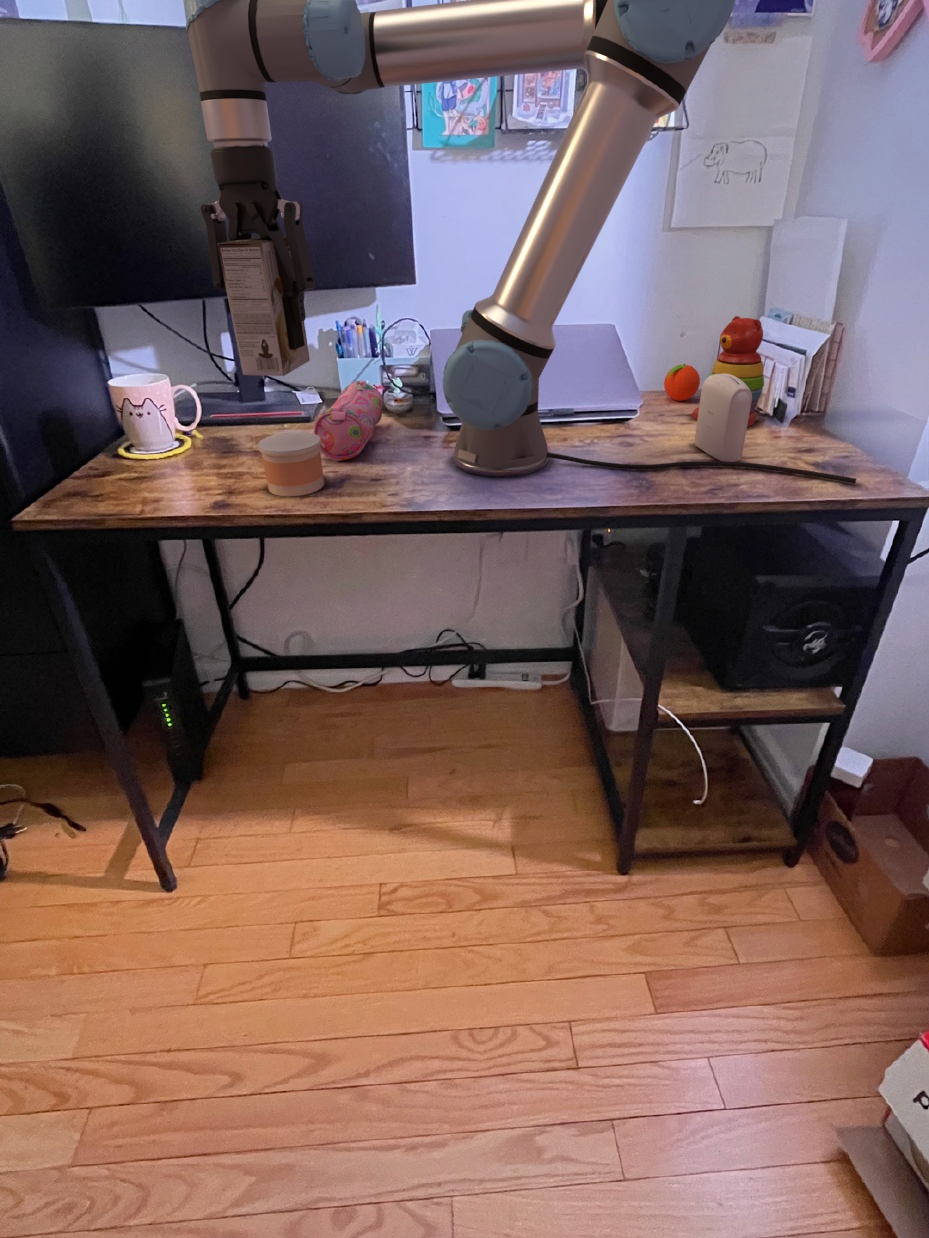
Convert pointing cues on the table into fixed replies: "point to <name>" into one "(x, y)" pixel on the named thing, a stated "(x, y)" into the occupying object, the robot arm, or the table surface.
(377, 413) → the pencil case
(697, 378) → the clementine
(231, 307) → the coffee box
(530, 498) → the table surface
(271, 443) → the yogurt pot
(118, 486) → the table surface
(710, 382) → the photo printer
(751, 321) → the stacking bear
